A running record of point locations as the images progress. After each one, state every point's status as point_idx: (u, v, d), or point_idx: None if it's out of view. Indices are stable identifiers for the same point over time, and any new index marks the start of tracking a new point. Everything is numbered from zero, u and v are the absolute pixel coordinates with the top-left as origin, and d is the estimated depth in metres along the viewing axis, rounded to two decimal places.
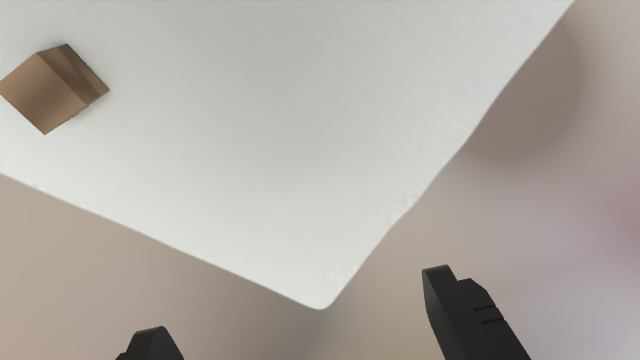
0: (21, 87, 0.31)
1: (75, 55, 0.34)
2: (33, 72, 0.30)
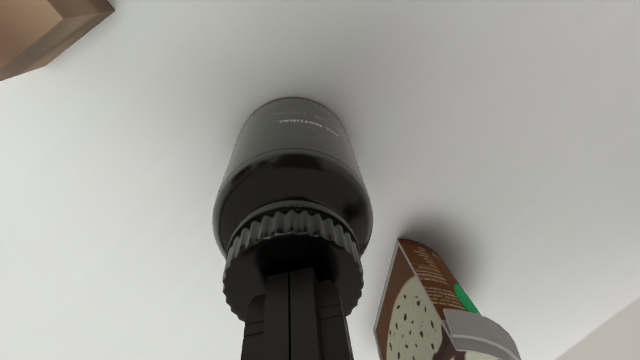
0: None
1: (95, 24, 0.19)
2: None
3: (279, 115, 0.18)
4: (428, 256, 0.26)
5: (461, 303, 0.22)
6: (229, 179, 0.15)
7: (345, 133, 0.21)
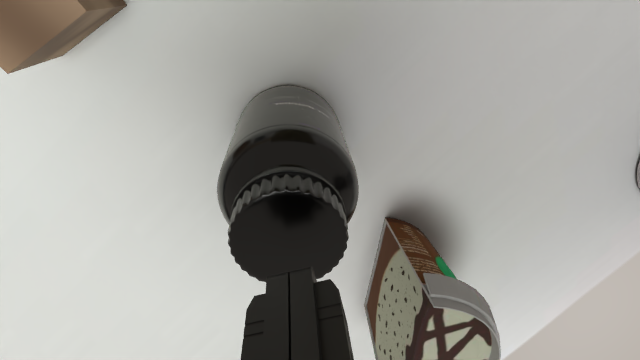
0: None
1: (109, 17, 0.21)
2: None
3: (275, 99, 0.20)
4: (413, 232, 0.28)
5: (441, 271, 0.24)
6: (232, 151, 0.17)
7: (335, 117, 0.23)
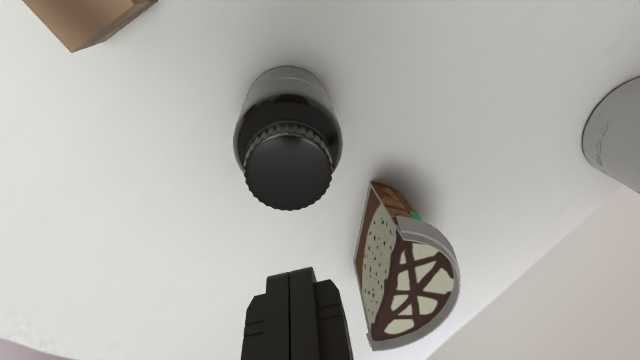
0: None
1: (144, 10, 0.26)
2: None
3: (277, 75, 0.26)
4: (393, 193, 0.33)
5: None
6: (245, 111, 0.22)
7: (326, 91, 0.28)
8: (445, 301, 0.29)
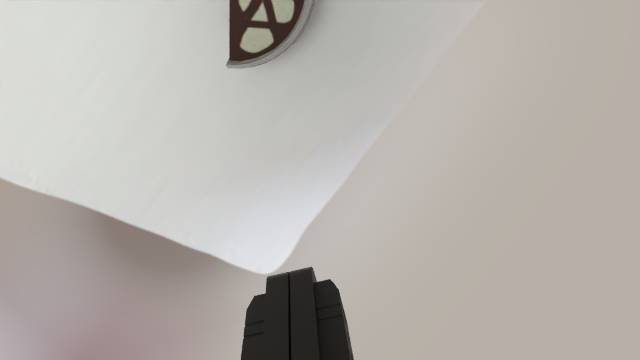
0: None
1: None
2: None
3: None
4: None
5: None
6: None
7: None
8: (302, 1, 0.26)
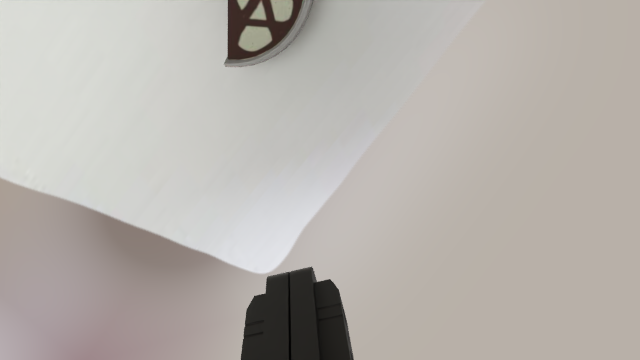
0: None
1: None
2: None
3: None
4: None
5: None
6: None
7: None
8: (301, 0, 0.26)
